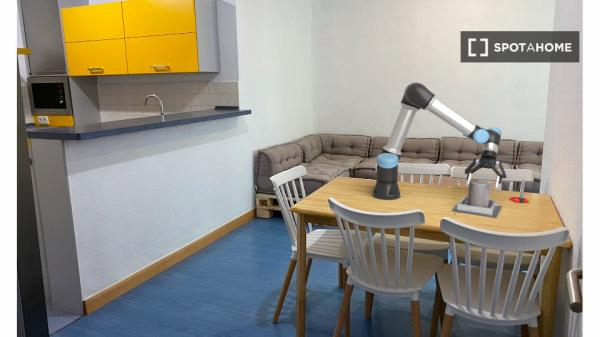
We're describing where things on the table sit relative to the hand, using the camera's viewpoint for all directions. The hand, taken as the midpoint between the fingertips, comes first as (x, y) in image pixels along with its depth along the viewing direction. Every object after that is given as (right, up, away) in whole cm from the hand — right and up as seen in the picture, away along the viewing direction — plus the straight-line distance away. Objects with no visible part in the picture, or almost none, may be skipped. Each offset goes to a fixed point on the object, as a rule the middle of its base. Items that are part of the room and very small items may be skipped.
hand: (482, 186), depth 211 cm
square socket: (-6, -11, -8) cm, 15 cm away
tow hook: (+22, -8, +6) cm, 24 cm away
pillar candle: (-6, -11, -8) cm, 14 cm away
